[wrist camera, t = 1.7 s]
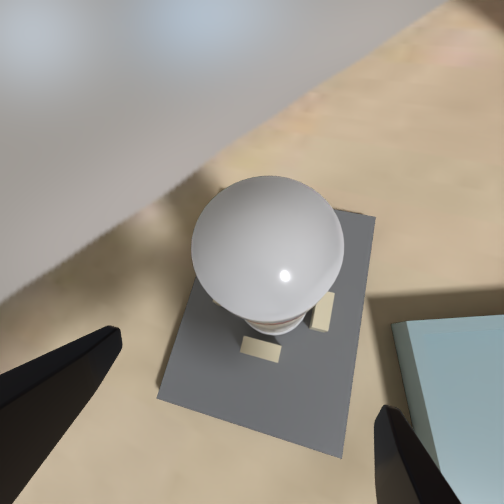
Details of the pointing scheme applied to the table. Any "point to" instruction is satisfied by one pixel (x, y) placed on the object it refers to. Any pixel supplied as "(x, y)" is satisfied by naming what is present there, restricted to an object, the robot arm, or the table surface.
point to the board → (277, 358)
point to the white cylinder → (268, 251)
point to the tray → (458, 399)
